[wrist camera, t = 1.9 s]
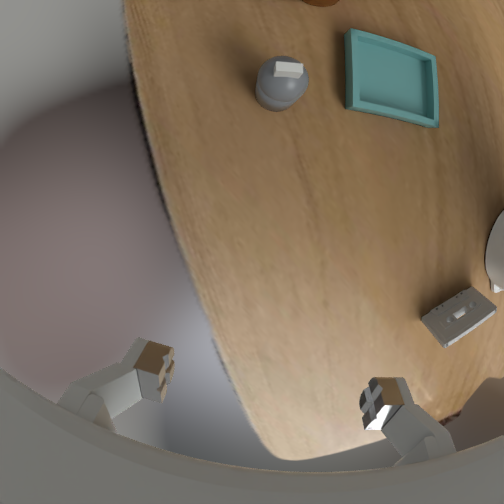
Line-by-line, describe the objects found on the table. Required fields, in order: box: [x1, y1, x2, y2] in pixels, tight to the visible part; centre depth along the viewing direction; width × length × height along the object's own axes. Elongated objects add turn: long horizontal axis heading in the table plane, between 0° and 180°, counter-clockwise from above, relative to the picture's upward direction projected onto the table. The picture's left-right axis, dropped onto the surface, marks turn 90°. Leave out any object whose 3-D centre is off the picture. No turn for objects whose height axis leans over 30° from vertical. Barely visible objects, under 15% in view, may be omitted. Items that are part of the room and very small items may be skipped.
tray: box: [344, 28, 439, 128], centre depth 24 cm, size 12×10×2 cm
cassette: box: [422, 287, 497, 348], centre depth 33 cm, size 12×2×8 cm, turn 114°
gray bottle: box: [255, 56, 309, 112], centre depth 22 cm, size 4×4×10 cm
